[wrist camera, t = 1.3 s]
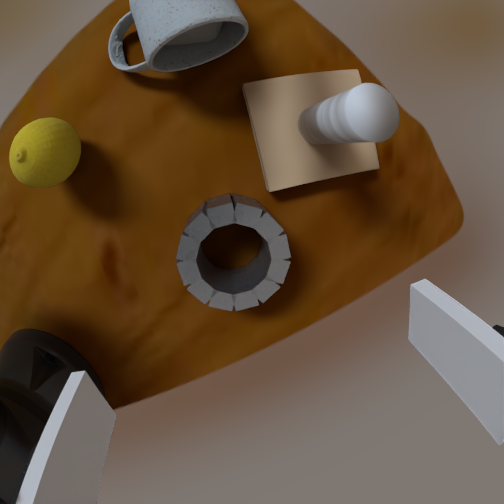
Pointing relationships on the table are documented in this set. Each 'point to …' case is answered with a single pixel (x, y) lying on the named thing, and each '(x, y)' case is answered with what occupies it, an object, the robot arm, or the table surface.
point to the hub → (239, 279)
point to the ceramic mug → (179, 33)
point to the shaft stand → (318, 125)
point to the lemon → (45, 152)
